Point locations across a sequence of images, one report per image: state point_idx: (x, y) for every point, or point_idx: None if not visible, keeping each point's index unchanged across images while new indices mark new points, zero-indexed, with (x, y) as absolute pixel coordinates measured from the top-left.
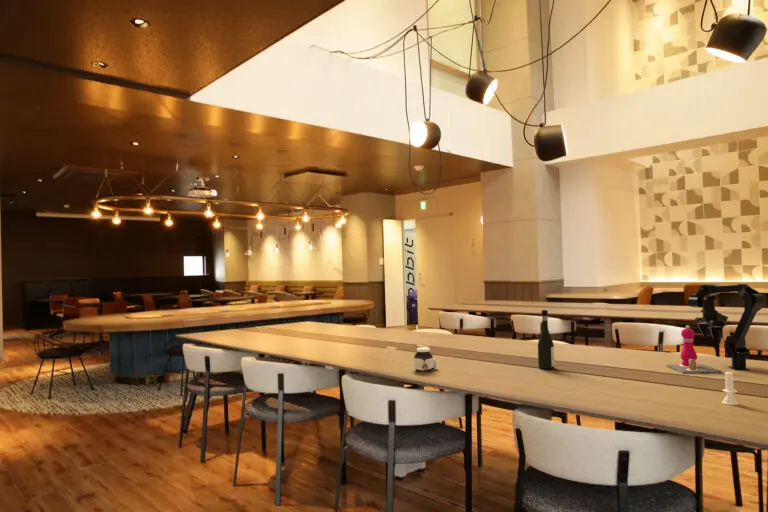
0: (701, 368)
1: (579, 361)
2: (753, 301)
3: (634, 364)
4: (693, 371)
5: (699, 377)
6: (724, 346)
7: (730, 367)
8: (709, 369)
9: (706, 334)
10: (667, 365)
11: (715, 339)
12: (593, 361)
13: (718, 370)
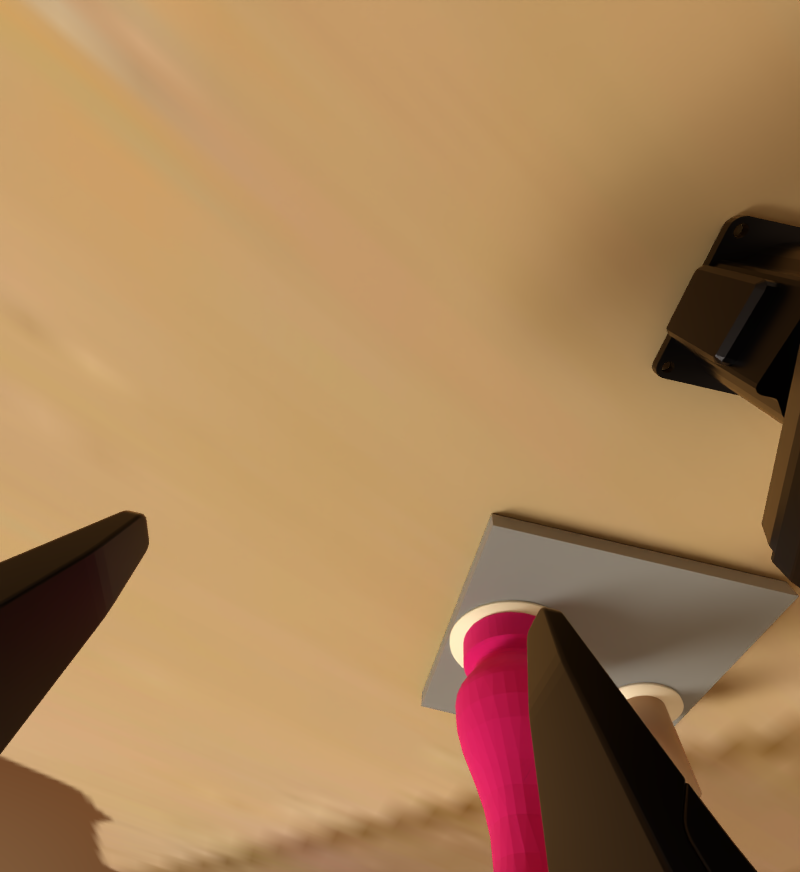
0: (633, 640)
1: (211, 837)
2: None
3: (316, 754)
4: (676, 720)
5: (780, 748)
6: (793, 574)
7: (691, 383)
8: (695, 625)
9: (94, 557)
10: (437, 707)
11: (555, 620)
12: (215, 812)
13: (768, 604)
